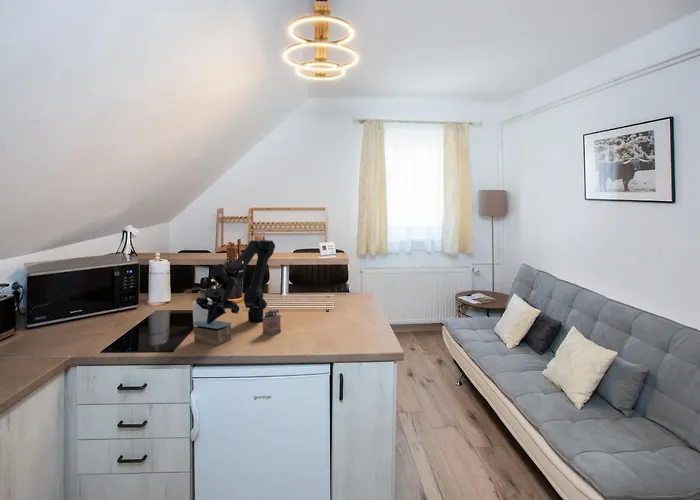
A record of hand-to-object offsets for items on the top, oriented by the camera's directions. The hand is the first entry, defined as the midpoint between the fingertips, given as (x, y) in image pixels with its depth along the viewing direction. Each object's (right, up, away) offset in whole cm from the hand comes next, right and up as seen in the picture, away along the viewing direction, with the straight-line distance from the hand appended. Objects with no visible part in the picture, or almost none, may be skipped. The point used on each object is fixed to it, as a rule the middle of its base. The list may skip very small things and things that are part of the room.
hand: (208, 323), depth 170 cm
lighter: (+23, -7, +13) cm, 27 cm away
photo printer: (-9, -5, +24) cm, 26 cm away
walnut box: (+1, -8, +3) cm, 8 cm away
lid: (+1, -1, +2) cm, 3 cm away
